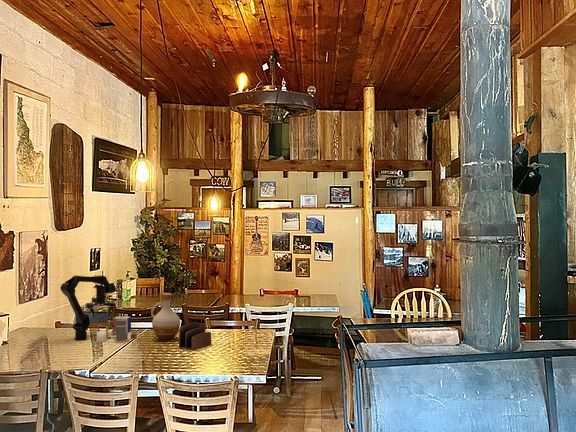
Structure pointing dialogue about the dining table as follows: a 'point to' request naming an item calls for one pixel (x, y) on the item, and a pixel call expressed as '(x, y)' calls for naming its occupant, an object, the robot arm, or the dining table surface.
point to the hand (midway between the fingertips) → (100, 317)
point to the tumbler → (121, 329)
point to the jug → (165, 320)
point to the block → (133, 335)
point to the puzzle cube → (121, 318)
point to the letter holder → (193, 336)
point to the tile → (122, 341)
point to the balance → (107, 331)
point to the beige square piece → (101, 336)
